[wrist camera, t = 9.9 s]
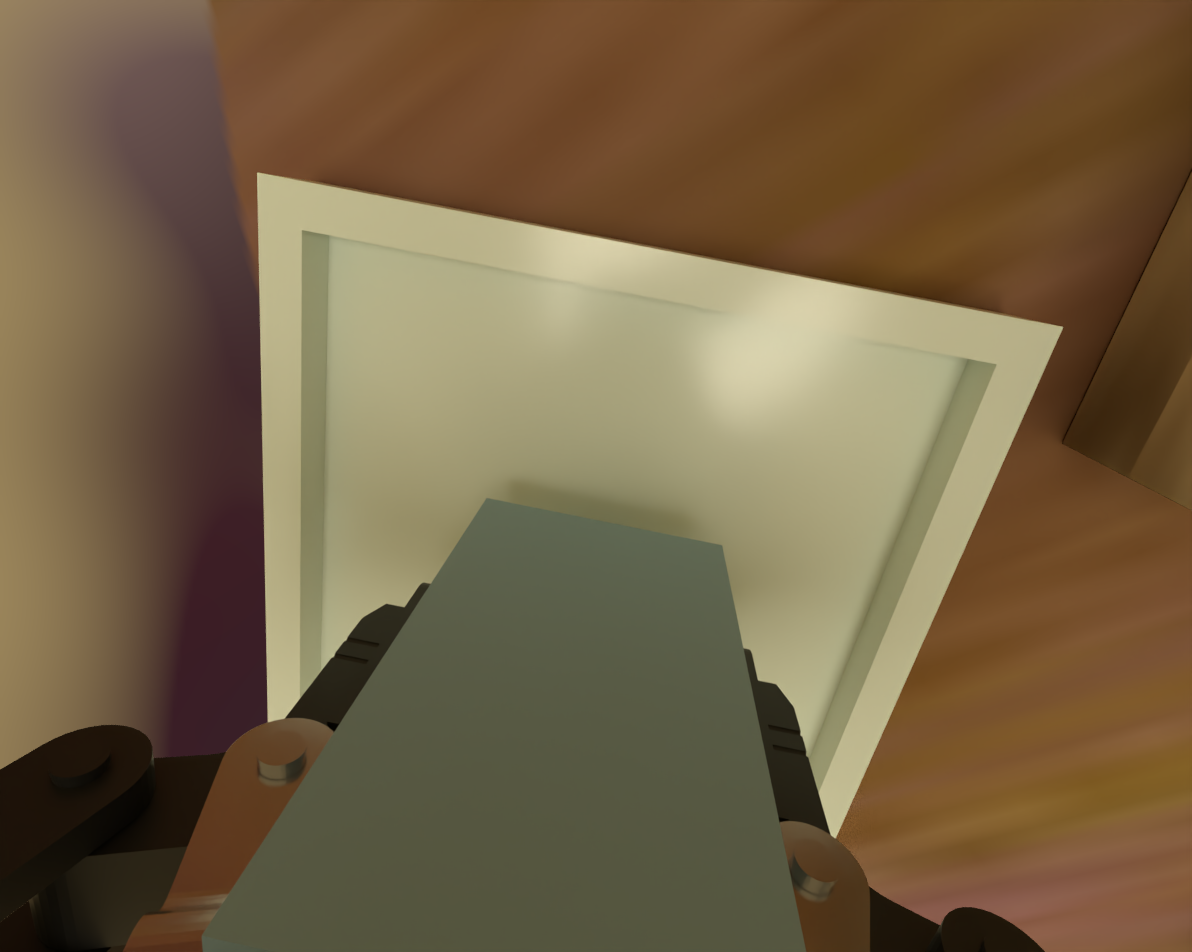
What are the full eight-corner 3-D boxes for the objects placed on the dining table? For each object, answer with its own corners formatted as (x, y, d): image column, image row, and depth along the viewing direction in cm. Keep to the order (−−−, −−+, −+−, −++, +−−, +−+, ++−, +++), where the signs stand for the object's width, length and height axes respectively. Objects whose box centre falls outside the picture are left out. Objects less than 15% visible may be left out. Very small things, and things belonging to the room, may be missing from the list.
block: (486, 497, 12) (202, 936, 4) (721, 545, 12) (830, 1074, 4) (463, 687, 14) (226, 1238, 6) (669, 729, 13) (684, 1342, 6)
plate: (315, 181, 13) (257, 172, 11) (1003, 313, 13) (1063, 326, 11) (309, 716, 18) (268, 773, 16) (796, 819, 18) (813, 888, 16)
